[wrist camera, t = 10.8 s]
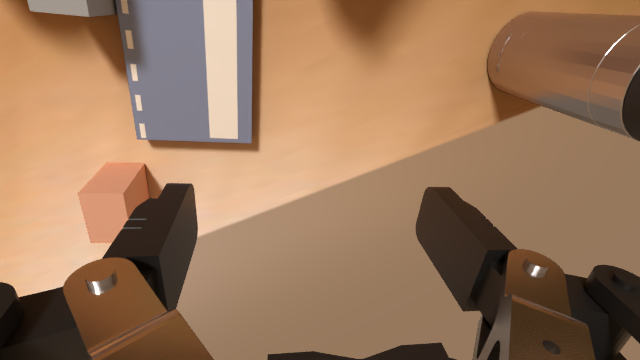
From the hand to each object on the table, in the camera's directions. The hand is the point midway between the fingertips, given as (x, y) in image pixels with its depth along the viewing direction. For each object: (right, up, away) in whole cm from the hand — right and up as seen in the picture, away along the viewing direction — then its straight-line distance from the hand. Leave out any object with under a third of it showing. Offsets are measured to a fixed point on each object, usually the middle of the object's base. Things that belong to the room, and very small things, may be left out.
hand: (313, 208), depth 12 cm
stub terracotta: (-23, 0, +29) cm, 36 cm away
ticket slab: (-13, +15, +23) cm, 30 cm away
